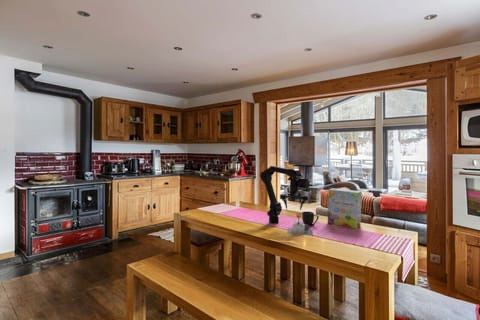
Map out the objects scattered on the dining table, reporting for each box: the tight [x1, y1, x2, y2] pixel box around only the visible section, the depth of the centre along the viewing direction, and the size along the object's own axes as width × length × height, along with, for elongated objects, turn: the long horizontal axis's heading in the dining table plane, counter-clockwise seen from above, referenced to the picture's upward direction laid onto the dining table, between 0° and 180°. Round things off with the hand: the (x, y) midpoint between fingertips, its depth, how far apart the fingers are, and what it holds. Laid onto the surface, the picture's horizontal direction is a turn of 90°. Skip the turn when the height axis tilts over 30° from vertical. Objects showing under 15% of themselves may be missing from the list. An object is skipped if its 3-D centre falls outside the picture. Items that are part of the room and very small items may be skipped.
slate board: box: [286, 227, 314, 237], centre depth 175 cm, size 16×13×1 cm
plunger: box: [295, 212, 302, 224], centre depth 175 cm, size 5×5×8 cm
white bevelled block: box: [291, 221, 309, 233], centre depth 175 cm, size 10×8×5 cm
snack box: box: [327, 187, 363, 230], centre depth 195 cm, size 22×9×26 cm, turn 50°
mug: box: [301, 211, 320, 227], centre depth 191 cm, size 8×12×10 cm
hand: (293, 209), depth 185 cm, fingers open, 9 cm apart
